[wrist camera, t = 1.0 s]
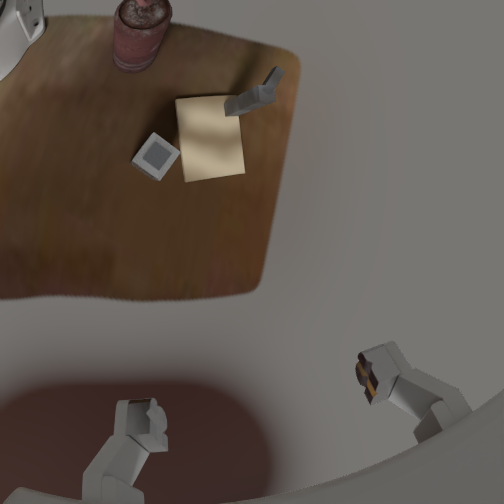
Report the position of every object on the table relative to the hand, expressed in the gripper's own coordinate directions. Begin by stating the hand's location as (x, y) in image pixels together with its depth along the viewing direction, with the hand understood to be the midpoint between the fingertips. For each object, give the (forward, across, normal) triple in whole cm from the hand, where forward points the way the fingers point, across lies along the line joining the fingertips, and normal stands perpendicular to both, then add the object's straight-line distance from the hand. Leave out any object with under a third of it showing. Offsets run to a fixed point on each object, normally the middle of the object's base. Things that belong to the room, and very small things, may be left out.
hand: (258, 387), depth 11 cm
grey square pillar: (+35, +8, -2) cm, 36 cm away
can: (+38, +8, -18) cm, 43 cm away
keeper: (+38, -1, -3) cm, 38 cm away
